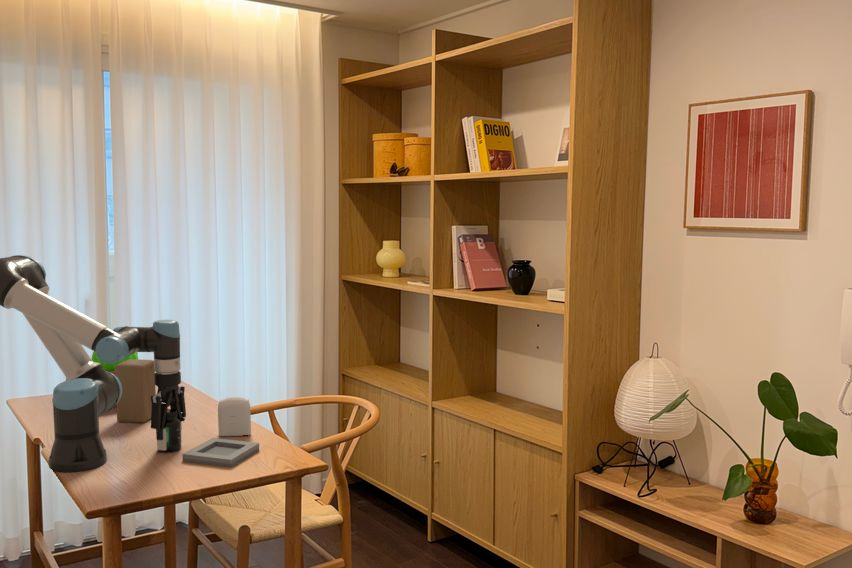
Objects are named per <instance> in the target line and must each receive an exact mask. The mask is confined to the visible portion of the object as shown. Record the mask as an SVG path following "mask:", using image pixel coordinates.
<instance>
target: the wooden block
mask: <svg viewBox="0 0 852 568" xmlns="http://www.w3.org/2000/svg"><path fill="white" fill-rule="evenodd" d="M115 372H116V377H117V378H118V379H119V380H120V382H121V385H122V395H121V398H120V400H119V402H118V403H117V407H116V421H117V422H119V423H134V422H135V423H138V424H141V423H142V424H143V423H146V422H147V421H149V420H151V409H152V402H151V396H152V395H153V396H155V395H156V394H157V390H156V385H155V378H154V374H155V373H156V372H155V371H154V359H139V358H138V359H129V360H126V361H124V362H122V363H119V364H117V365H116V367H115Z"/></svg>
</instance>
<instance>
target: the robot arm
mask: <svg viewBox="0 0 852 568" xmlns="http://www.w3.org/2000/svg"><path fill="white" fill-rule="evenodd" d="M46 278H47V273H46V270H45V267H44V266H43V264H42V263H41V262H40V261H39V260H38V259H36V258H35V257H32V256H28V255H23V254H22V255H20V254H18V255H17V254H15V255H11V256H8V257H7V256H6V257H0V307H2V308H5V309H7V310H10V309H13V310H16V311H18V312H20V313H22V314H23V316H24V317H25V319H26V320H27V323H28V324H29V325H30V326H31V328H32V329H33V331H34V332H35V334H36V335H37V337H38V338H39V339H40V341H41V342H42V344H43V345H44V347H45V349H46V350H47V351H48V353H49V354H50V356H51V357H52V358H53V360H54V362H55V363H56V365H57V367H58V368H59V369H60V370H61V372H62V373H63V375H64V377H65V380H63V381H62V382H60V383H58V384H57V385H56V386H55V387H54V388H53V392H52V399H51V400H52V407H53V408H52V409H53V411H52V412H53V425H54V426H53V429H54V431H53V432H54V441H53V444H52V446H51V447H52V448H51V451H50V455H49V457H48V467H49V469H50V470H52V471H55V472H61V473H62V472H63V473H66V472H67V473H74V472H80V471H81V472H82V471H87V470H92V469H95V468H97V467H101V466H103V465H104V464H105V463H106V462H107V461H108V459H107V450H106V448H105V447H104V444H103V441H102V438H101V435H100V418H99V417H101V416H102V415H104V414H106V413H108V412H109V411H111V410H113V409H114V408H115V407H114V406H115V405H116V404H117V403H118V402H119V400H120V398H121V395H122V385H121V382H120V380H119V379H118V378H117V377H116V376H115V375H114V374H112V373H109V372H107V371H105V369H104V368H103V366H102V365H101V364H100V363H97V362H93V361H92V359H91V358H92V357H91V356H90V355H89V353H88V351H86V349H85V348H84V347H86V348H87V349H89V350H91V351H93V352H94V351H95V352H96V355H97V356H98V358H99V359H100V360H101V361H102V362H105V363H115V362H119V361H121V360H123V359H124V358H125V357H127V356H130V355H132V354H134V353H135V352H137V353H153V361H154V371H155V374H154V378H155V387H157V390H156V395H155V396H153V395H152V396H151V402H152V409H151V419H150V429H152V430H155V433H156V434H155V438H156V448H157V450H158V451H159V450H164V451H165V450H167V448H166V429H164V425H165V420H166V414H167V409H176V410H177V418H178V419H180V421H181V422H185V420H186V417H187V412H186V410H187V409H186V401H185V400H186V399H185V390H186V389H185V388H186V387H185V386H184V385H183V386H182V385H180V384H181V383H182V377H181V376H182V373H181V333H180V323H179V322H178V321H177V320H175V319H157V320H154V322H153V323H152V325H151V326H145V327H144V326H128V325H126V326H116V327H115V328H113V329H112V328H110V327H108V326H106V325H104V324H102V323H100V322H98V321H97V320H95V319H93V318H91V317H89V316H88V315H86V314H84V313H82V312H80V311H78V310H76V309H75V308H72V307H71V306H69V305H67V304H65V303H63V302H61V301H60V300H58V299H56V298H54V297H52V296H50V295H49V292H50V286H49V284H48V283H47V282H46ZM169 407H170V408H169ZM160 424H161V425H160ZM181 430H182V424H181ZM181 443H182V439H181Z"/></svg>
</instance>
